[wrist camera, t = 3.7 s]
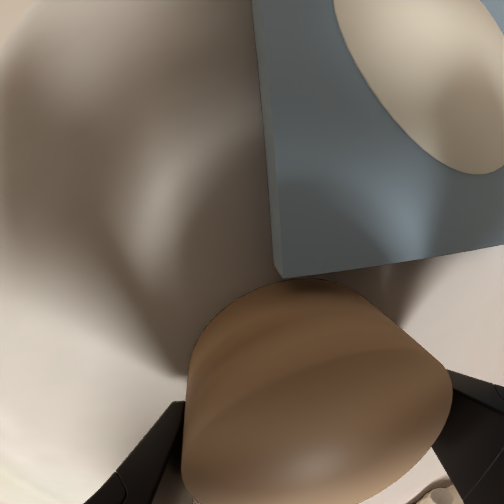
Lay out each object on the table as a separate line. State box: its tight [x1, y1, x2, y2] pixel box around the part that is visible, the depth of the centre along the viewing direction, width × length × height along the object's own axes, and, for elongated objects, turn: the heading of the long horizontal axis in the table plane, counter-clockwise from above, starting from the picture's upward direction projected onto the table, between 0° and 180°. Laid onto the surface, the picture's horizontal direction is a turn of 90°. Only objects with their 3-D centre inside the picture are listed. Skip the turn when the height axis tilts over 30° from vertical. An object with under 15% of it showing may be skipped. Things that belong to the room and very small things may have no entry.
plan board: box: [251, 0, 504, 279], centre depth 7 cm, size 14×13×1 cm
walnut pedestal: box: [181, 279, 453, 504], centre depth 7 cm, size 7×7×4 cm
